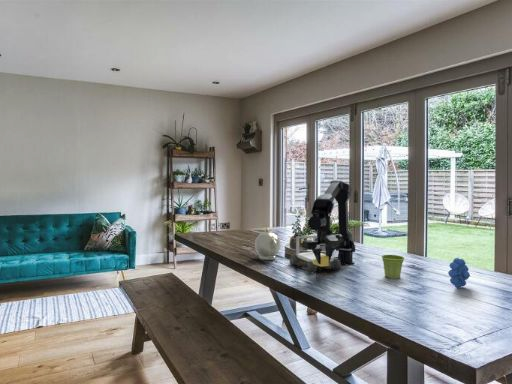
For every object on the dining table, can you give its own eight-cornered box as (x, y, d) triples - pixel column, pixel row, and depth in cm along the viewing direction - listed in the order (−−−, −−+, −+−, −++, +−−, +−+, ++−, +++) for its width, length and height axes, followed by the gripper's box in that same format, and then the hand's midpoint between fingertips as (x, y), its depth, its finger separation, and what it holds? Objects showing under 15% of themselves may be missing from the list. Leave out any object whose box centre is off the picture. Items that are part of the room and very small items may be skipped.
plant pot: (403, 274, 163) (403, 255, 162) (404, 280, 154) (405, 260, 153) (381, 273, 166) (381, 254, 165) (381, 278, 157) (381, 258, 156)
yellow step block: (320, 262, 165) (320, 253, 165) (328, 265, 159) (328, 256, 159) (313, 263, 163) (313, 254, 163) (320, 266, 158) (320, 257, 158)
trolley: (290, 263, 185) (290, 235, 184) (316, 261, 191) (316, 233, 190) (312, 273, 166) (312, 242, 165) (340, 270, 172) (340, 239, 171)
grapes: (461, 293, 136) (461, 261, 136) (443, 289, 142) (444, 258, 141) (477, 288, 142) (478, 257, 142) (460, 284, 148) (460, 254, 148)
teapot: (250, 257, 201) (250, 227, 200) (273, 255, 206) (272, 225, 205) (264, 264, 184) (263, 231, 184) (288, 261, 190) (288, 229, 189)
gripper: (315, 231, 148) (315, 269, 148) (353, 228, 155) (353, 265, 156) (301, 227, 158) (301, 264, 159) (337, 225, 165) (337, 259, 166)
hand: (323, 263), depth 159 cm, fingers closed on yellow step block, 4 cm apart
